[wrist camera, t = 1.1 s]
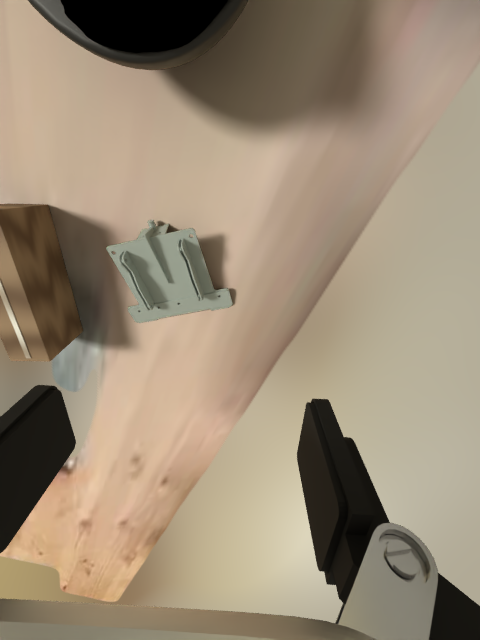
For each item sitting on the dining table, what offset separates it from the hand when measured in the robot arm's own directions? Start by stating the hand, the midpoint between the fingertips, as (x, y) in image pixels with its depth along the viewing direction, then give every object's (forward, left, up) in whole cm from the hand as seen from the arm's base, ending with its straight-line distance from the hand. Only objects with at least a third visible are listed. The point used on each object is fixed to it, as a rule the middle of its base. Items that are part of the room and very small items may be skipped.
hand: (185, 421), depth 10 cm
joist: (+3, -25, -29) cm, 38 cm away
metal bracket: (+3, -8, -29) cm, 30 cm away
